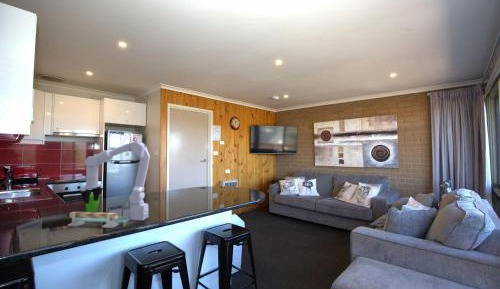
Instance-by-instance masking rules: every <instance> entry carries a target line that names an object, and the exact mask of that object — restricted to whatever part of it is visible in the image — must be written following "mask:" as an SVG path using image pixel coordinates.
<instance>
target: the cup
mask: <svg viewBox="0 0 500 289" xmlns="http://www.w3.org/2000/svg"><path fill="white" fill-rule="evenodd" d="M101 196H102V194H100V196H99V199H98V201H94V198H93V193H91V195H90V200H89V203H88V204H85V212H97V213H98V209H99V206H100V205H99V204H100V199H101Z"/></svg>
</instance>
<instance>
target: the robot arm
mask: <svg viewBox="0 0 500 289" xmlns="http://www.w3.org/2000/svg"><path fill="white" fill-rule="evenodd" d="M126 152H132V153H133V154H135V155H136V156H137V157H138V158H139V162H138V163H139V165H138V168H137V174H136V177H135V182H134V186H133V188H132V190H131V194H130V195H129V196H128V200H129V217H130V219H129V221H144V220H146V219H147V218H149V217H150V216H149V204H148V203H147V202H146V203H145V201H144V199H145V196H146V193H145V183H146V179H147V174H148V173H147V172H148V170H149V164H150V160H151V155H150V153H149V150H148V146H147V145H146V144H145V143H144V142H142V141H139V142H138V141H132V142H128V143H126V144H124V145H122V146H119V147H116V148H114V149H113V150H111V151H110V150H106V149H104V150H101V152H99V153H95V154H93V156H92V155H89V156H88V157H86V158H85V160H84V164H85V166H86V171H85V172H86V175H85V177H86V178H85V185H84V186H81V187H80V190H79V193H80V195H81V197H82V200H83V204H88V203H89V200H90V195H91V194H93V198H94V201H98V199H99V196H100V195H101V193H102V191H103V190H104V187H103V184H102V183H99V166H100V165H101V164H104V163H107V162H108V161H109V162H110V161H111V160H112V159H113V158H114V157H115V156H118V155H121V154H122V153H126ZM100 197H101V196H100Z"/></svg>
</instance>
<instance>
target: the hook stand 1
mask: <svg viewBox="0 0 500 289" xmlns="http://www.w3.org/2000/svg"><path fill="white" fill-rule="evenodd" d="M86 223H87V222H85V221H82V218H76V214H72V218H71V223H69V224H67V227H72V228H78V227H80V226H82V225H85V224H86Z"/></svg>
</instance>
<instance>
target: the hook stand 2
mask: <svg viewBox="0 0 500 289" xmlns="http://www.w3.org/2000/svg"><path fill="white" fill-rule="evenodd" d="M118 225H120V223H116V222H115V219H111V215H107V219H106V223H104V224H103V225H102V226H101V228H104V229H113V228H115V227H117V226H118Z"/></svg>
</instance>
